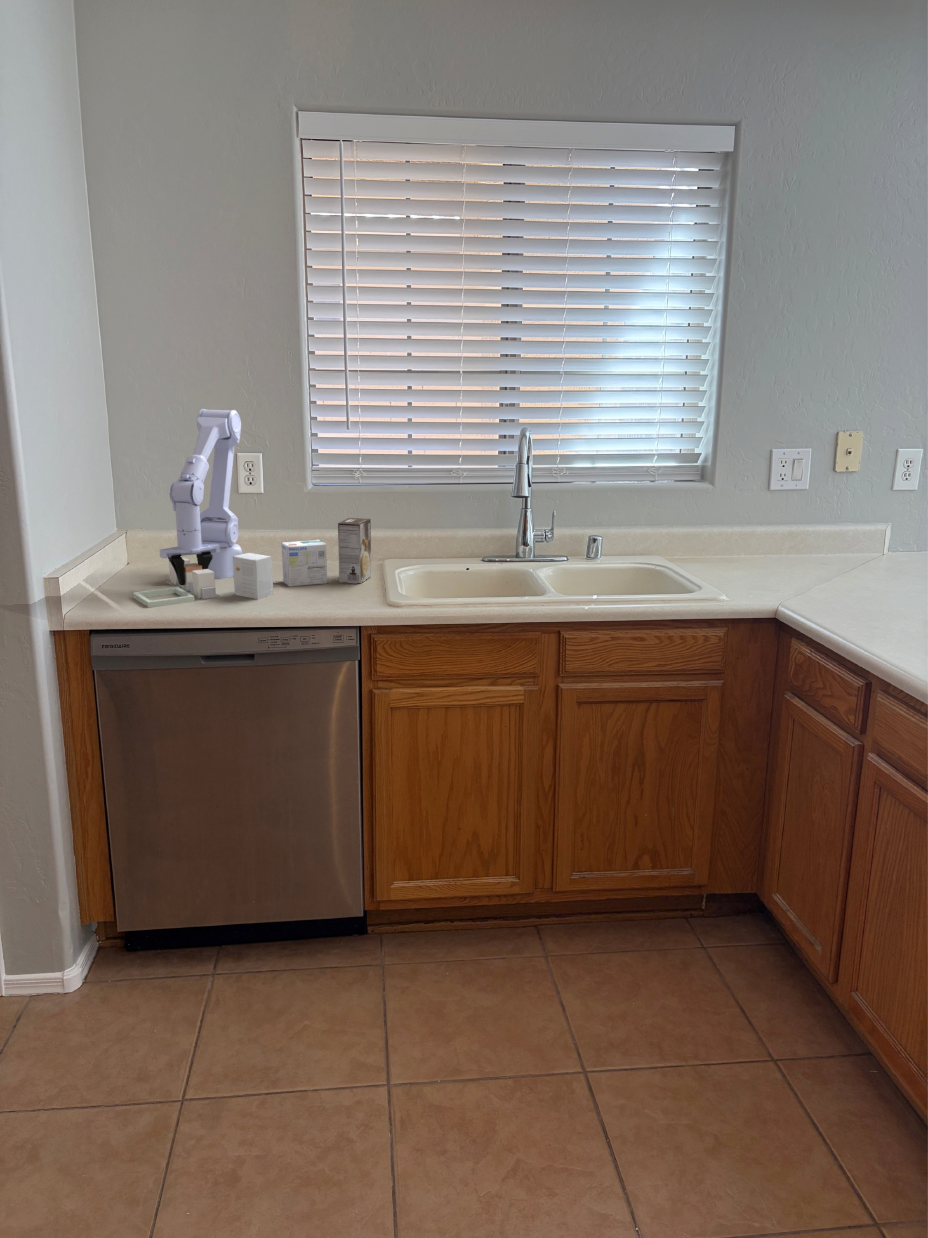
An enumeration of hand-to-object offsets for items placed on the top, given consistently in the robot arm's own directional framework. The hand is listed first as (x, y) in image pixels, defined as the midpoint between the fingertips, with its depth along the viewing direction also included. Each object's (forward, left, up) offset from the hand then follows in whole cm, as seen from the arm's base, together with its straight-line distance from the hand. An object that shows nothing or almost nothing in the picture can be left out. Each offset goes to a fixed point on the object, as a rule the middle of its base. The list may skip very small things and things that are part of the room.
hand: (191, 583), depth 231 cm
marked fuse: (0, 0, -1) cm, 1 cm away
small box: (-10, +14, -2) cm, 17 cm away
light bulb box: (-28, +6, -2) cm, 29 cm away
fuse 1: (0, -8, -1) cm, 8 cm away
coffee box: (-42, +10, -2) cm, 43 cm away
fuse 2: (0, +8, -1) cm, 8 cm away
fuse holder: (0, 0, -2) cm, 2 cm away
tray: (+10, +6, -2) cm, 12 cm away
